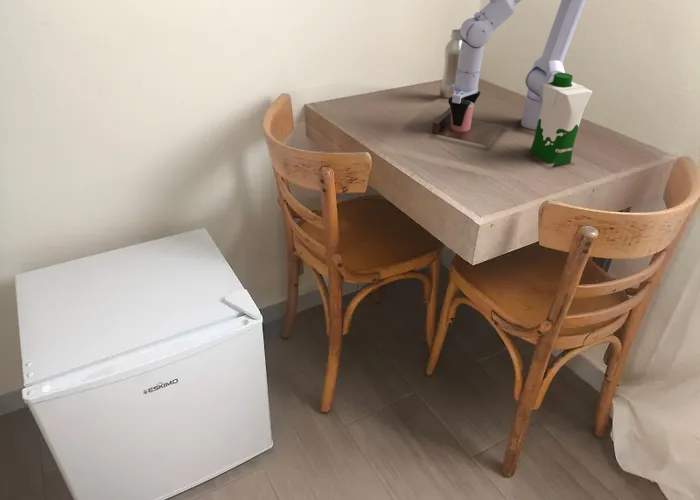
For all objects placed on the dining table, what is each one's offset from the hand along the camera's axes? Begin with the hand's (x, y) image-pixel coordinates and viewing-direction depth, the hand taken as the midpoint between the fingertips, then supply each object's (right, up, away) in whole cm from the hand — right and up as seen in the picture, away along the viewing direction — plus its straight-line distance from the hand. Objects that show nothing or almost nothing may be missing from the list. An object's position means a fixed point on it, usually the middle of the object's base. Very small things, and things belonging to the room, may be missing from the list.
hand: (460, 121), depth 143 cm
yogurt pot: (0, -1, +1) cm, 2 cm away
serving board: (+2, -3, +1) cm, 4 cm away
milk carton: (+19, -12, -11) cm, 25 cm away
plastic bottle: (+1, +12, +23) cm, 26 cm away
